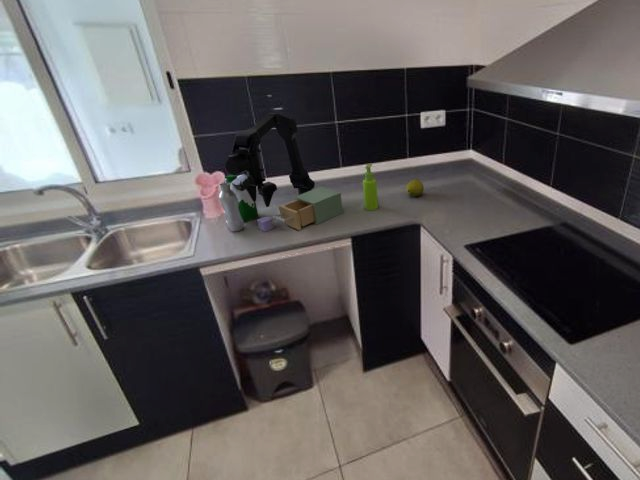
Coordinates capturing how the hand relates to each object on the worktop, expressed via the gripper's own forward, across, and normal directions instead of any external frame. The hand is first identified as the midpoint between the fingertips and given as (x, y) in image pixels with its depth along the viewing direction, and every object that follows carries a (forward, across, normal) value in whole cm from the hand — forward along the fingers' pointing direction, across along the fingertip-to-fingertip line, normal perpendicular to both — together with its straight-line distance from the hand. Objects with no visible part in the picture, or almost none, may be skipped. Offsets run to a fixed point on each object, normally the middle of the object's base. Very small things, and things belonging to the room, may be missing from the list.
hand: (261, 203), depth 152 cm
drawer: (+10, +8, +10) cm, 17 cm away
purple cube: (+11, 0, 0) cm, 11 cm away
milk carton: (+11, -16, +1) cm, 20 cm away
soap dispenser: (+11, +21, +41) cm, 47 cm away
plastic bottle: (+11, -9, -8) cm, 16 cm away
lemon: (+11, +29, +63) cm, 70 cm away
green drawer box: (+11, +8, +22) cm, 26 cm away
